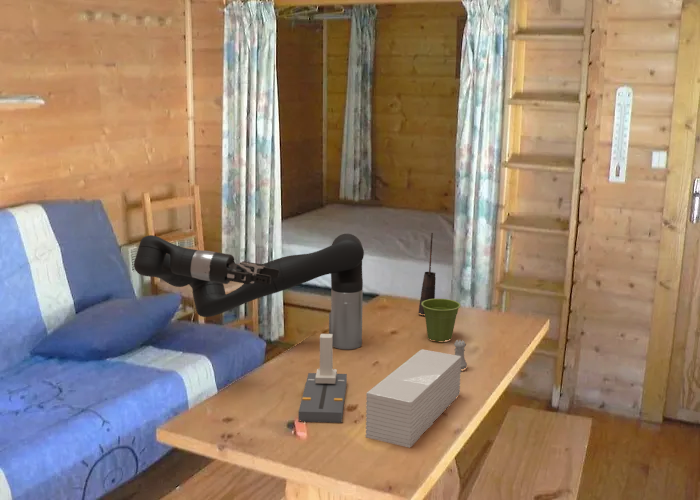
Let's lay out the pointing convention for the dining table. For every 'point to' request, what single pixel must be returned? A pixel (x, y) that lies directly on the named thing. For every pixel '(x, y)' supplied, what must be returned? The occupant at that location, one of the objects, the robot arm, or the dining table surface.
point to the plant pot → (440, 318)
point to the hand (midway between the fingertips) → (274, 277)
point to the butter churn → (428, 284)
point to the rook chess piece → (460, 352)
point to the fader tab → (326, 361)
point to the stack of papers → (412, 397)
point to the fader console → (323, 400)
